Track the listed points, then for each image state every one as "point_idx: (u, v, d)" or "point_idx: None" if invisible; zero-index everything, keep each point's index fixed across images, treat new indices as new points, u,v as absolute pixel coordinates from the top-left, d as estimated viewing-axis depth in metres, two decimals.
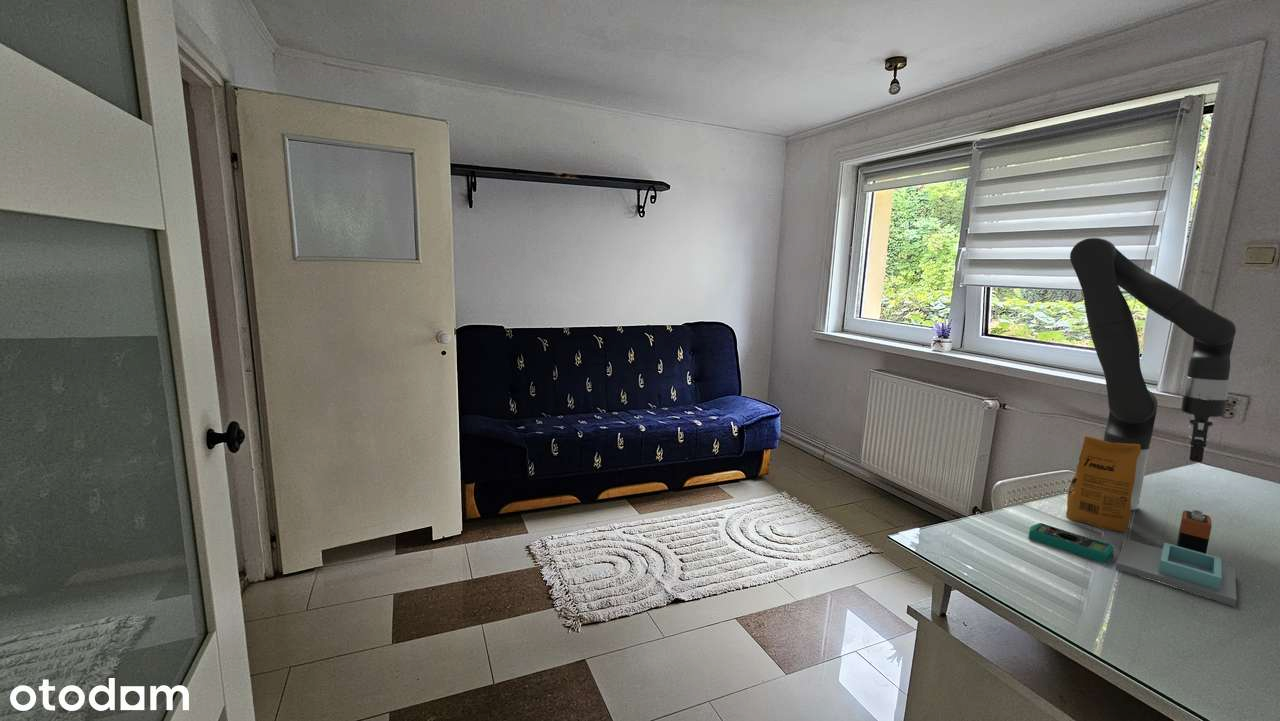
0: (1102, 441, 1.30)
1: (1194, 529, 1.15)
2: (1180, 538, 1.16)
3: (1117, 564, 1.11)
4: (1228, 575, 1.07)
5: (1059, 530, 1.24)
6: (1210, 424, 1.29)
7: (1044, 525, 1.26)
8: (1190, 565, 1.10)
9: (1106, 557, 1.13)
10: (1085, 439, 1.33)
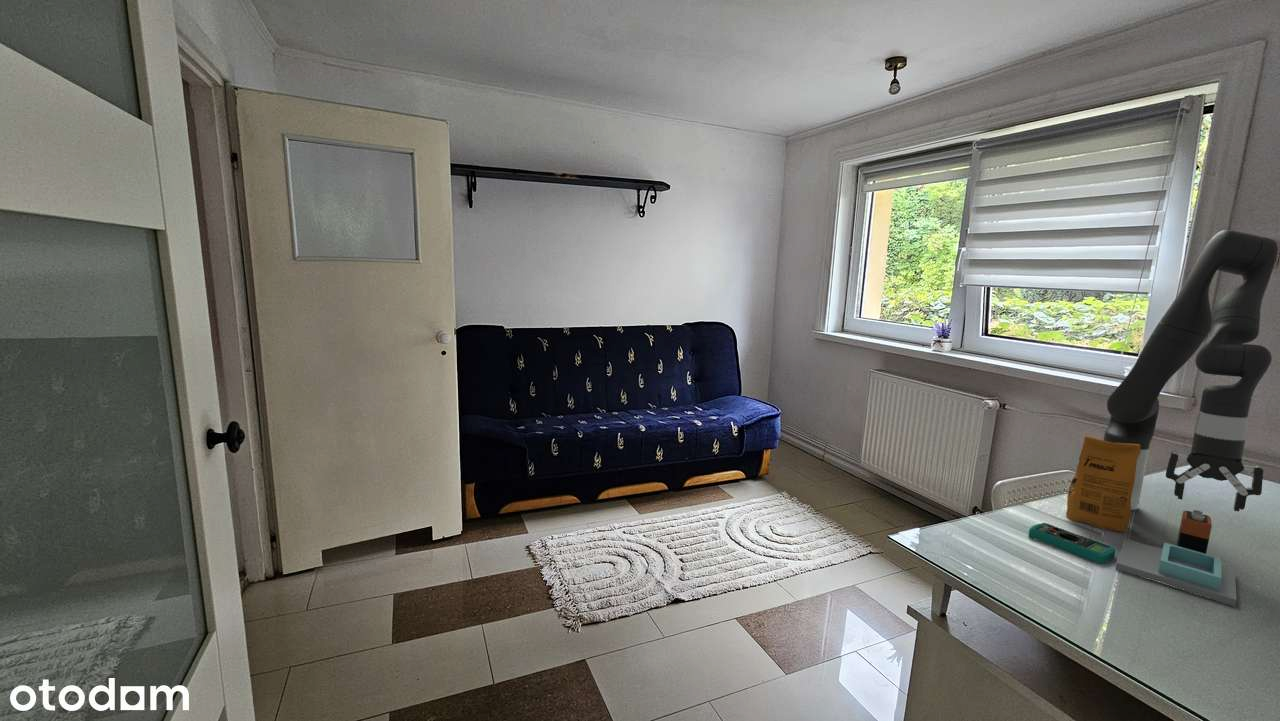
0: (1102, 441, 1.30)
1: (1194, 529, 1.15)
2: (1180, 538, 1.16)
3: (1117, 564, 1.11)
4: (1228, 575, 1.07)
5: (1062, 530, 1.23)
6: None
7: (1048, 525, 1.26)
8: (1190, 565, 1.10)
9: (1102, 557, 1.12)
10: (1085, 439, 1.33)
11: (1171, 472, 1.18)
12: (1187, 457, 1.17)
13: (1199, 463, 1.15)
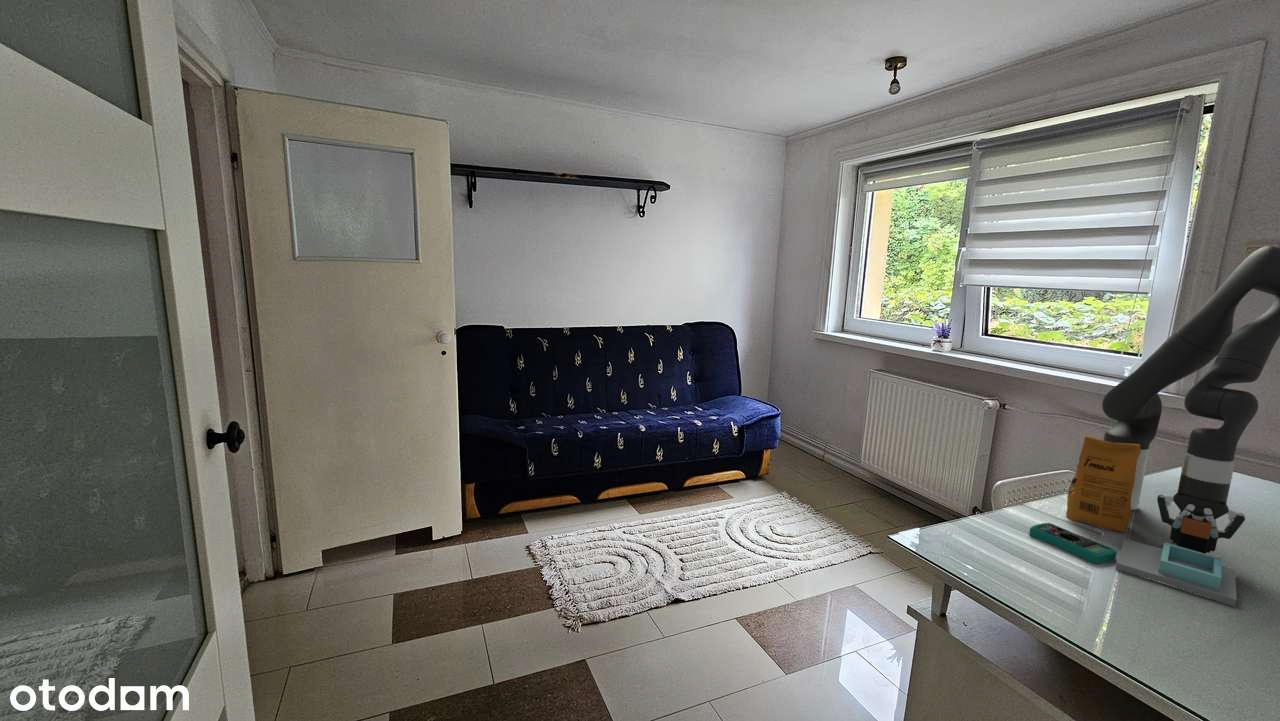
0: (1102, 441, 1.30)
1: (1194, 529, 1.14)
2: (1180, 538, 1.16)
3: (1117, 564, 1.11)
4: (1228, 575, 1.07)
5: (1065, 531, 1.23)
6: None
7: (1052, 525, 1.26)
8: (1190, 565, 1.10)
9: (1097, 558, 1.12)
10: (1085, 439, 1.33)
11: (1165, 516, 1.19)
12: (1173, 498, 1.19)
13: (1184, 505, 1.17)
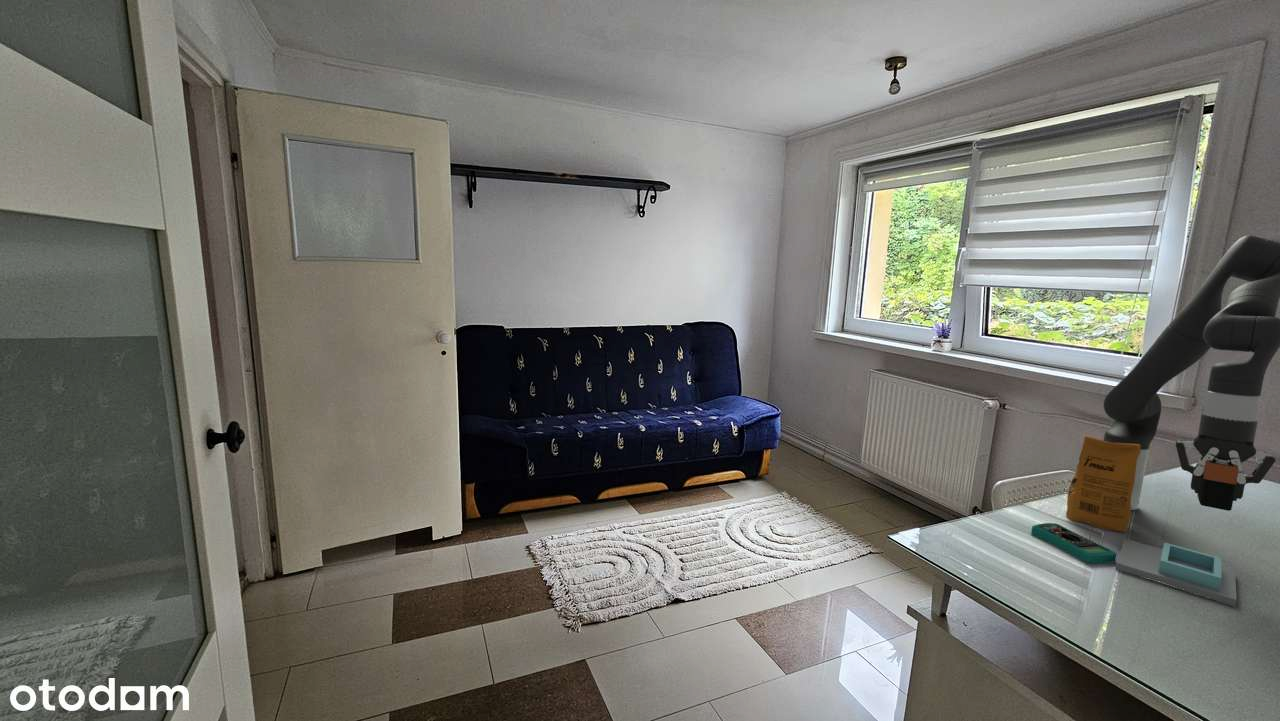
0: (1102, 441, 1.30)
1: (1219, 474, 1.03)
2: (1203, 485, 1.05)
3: (1117, 564, 1.11)
4: (1228, 575, 1.07)
5: (1069, 532, 1.23)
6: None
7: (1058, 526, 1.26)
8: (1190, 565, 1.10)
9: (1090, 557, 1.13)
10: (1085, 439, 1.33)
11: (1185, 463, 1.08)
12: (1193, 443, 1.07)
13: (1206, 449, 1.06)
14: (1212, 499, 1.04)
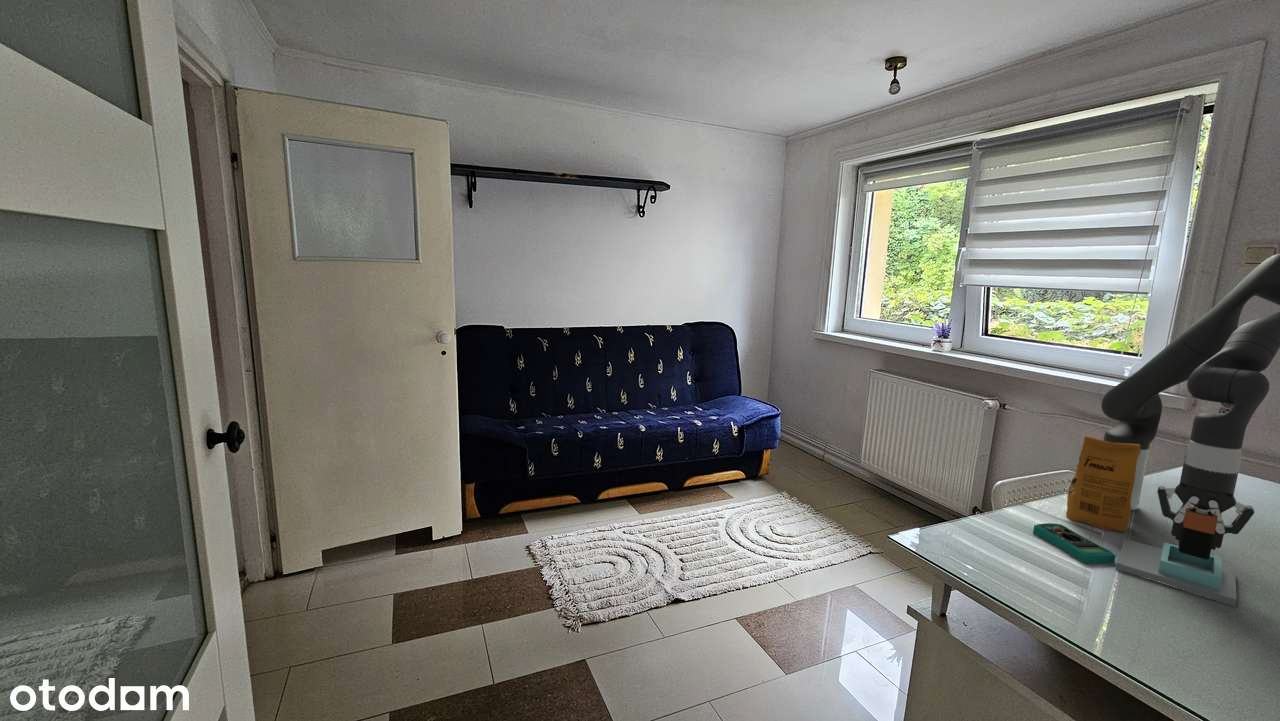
0: (1102, 441, 1.30)
1: (1198, 523, 1.04)
2: (1183, 533, 1.06)
3: (1117, 564, 1.11)
4: (1228, 575, 1.07)
5: (1072, 532, 1.23)
6: None
7: (1062, 526, 1.26)
8: (1190, 565, 1.10)
9: (1086, 557, 1.13)
10: (1085, 439, 1.33)
11: (1166, 510, 1.09)
12: (1175, 490, 1.08)
13: (1187, 497, 1.07)
14: (1190, 547, 1.05)
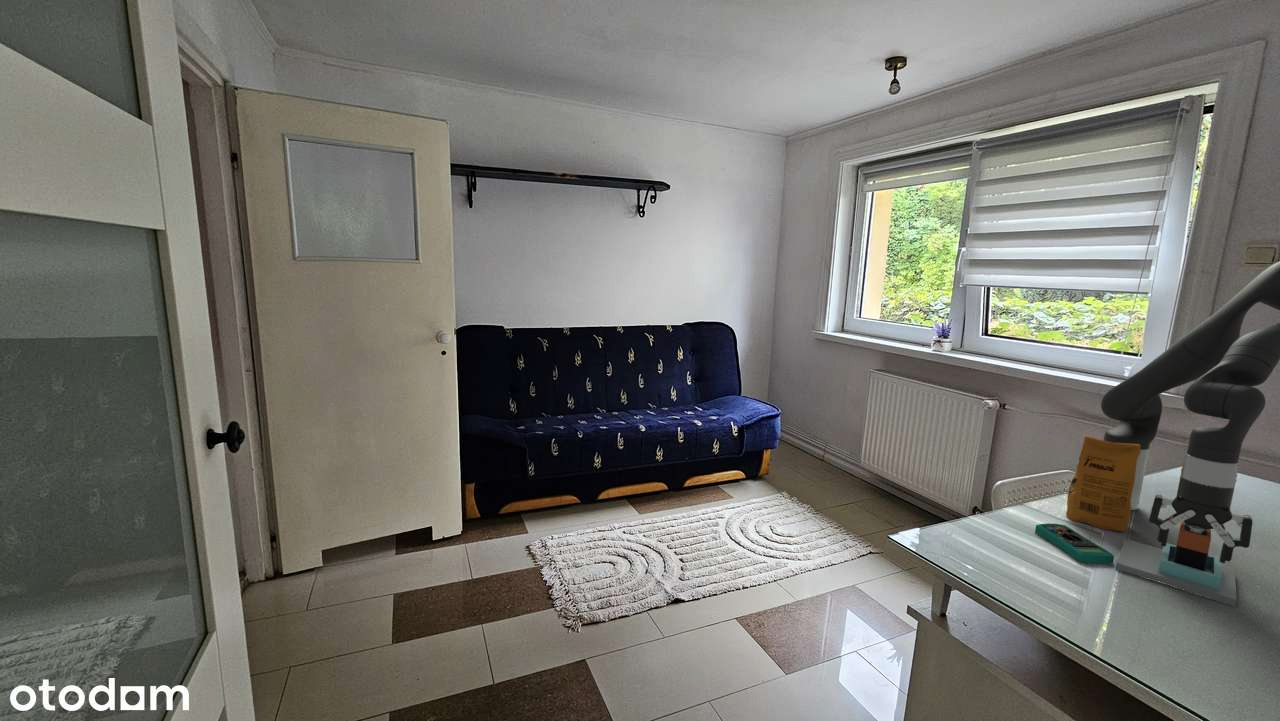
0: (1102, 441, 1.30)
1: (1192, 542, 1.05)
2: (1176, 552, 1.07)
3: (1117, 564, 1.11)
4: (1228, 575, 1.07)
5: (1074, 533, 1.22)
6: None
7: (1066, 527, 1.25)
8: None
9: (1082, 556, 1.13)
10: (1085, 439, 1.33)
11: (1155, 517, 1.10)
12: (1172, 502, 1.09)
13: (1184, 509, 1.07)
14: (1184, 565, 1.06)
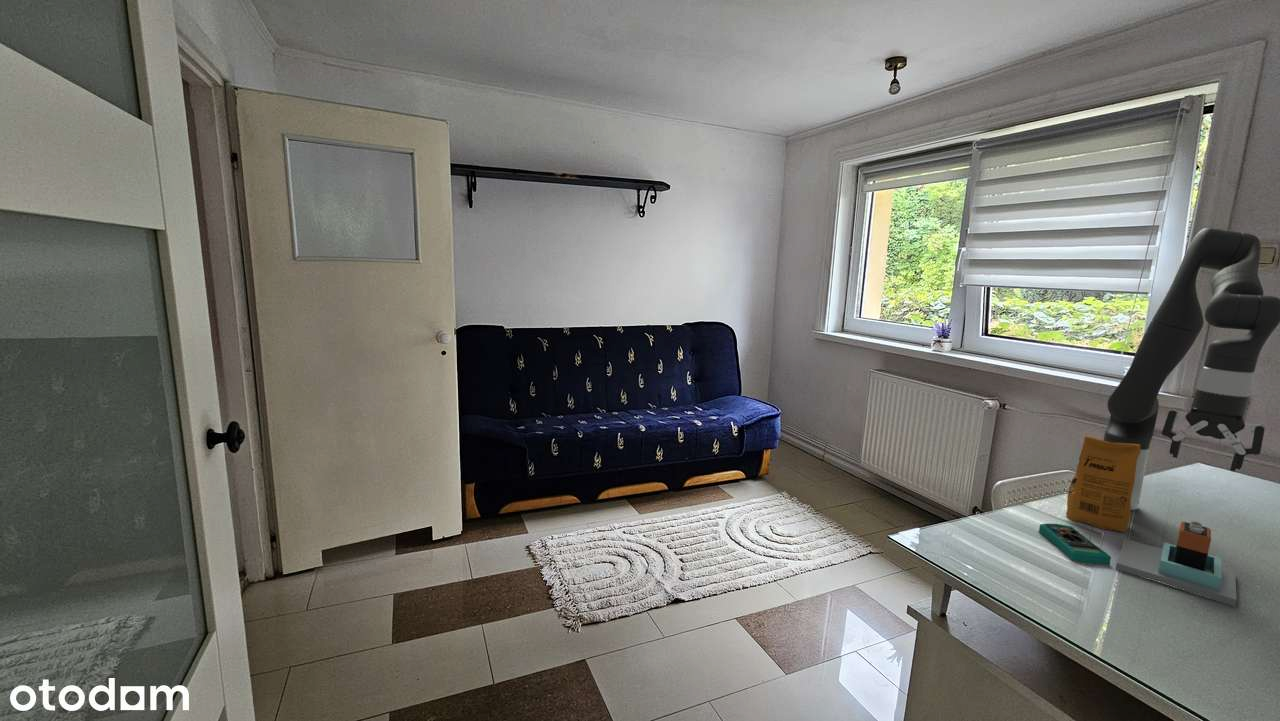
0: (1102, 441, 1.30)
1: (1192, 542, 1.05)
2: (1176, 552, 1.07)
3: (1117, 564, 1.11)
4: (1228, 575, 1.07)
5: (1078, 534, 1.22)
6: None
7: (1072, 528, 1.25)
8: None
9: (1074, 554, 1.14)
10: (1085, 439, 1.33)
11: (1168, 429, 1.14)
12: (1186, 414, 1.12)
13: (1198, 420, 1.10)
14: (1184, 565, 1.06)
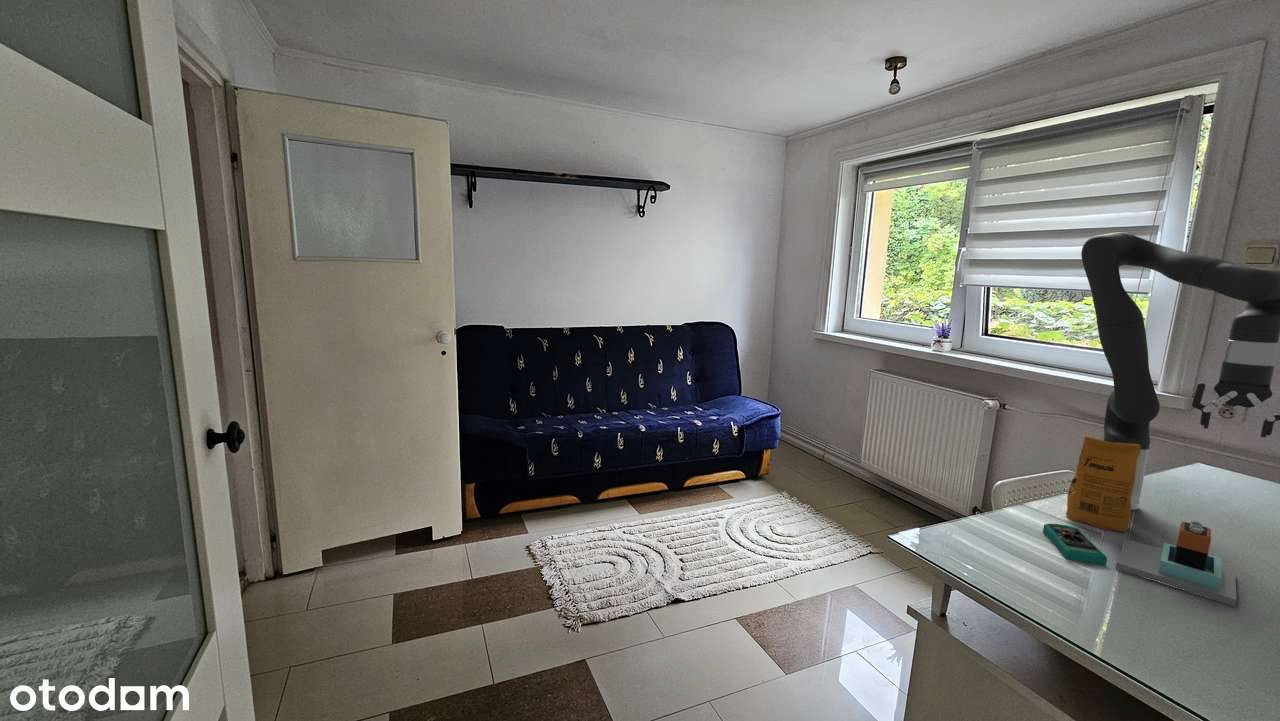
0: (1102, 441, 1.30)
1: (1192, 542, 1.05)
2: (1176, 552, 1.07)
3: (1117, 564, 1.11)
4: (1228, 575, 1.07)
5: (1081, 535, 1.21)
6: None
7: (1077, 530, 1.24)
8: None
9: (1068, 553, 1.14)
10: (1085, 439, 1.33)
11: (1198, 401, 1.19)
12: (1214, 386, 1.18)
13: (1226, 391, 1.16)
14: (1184, 565, 1.06)
